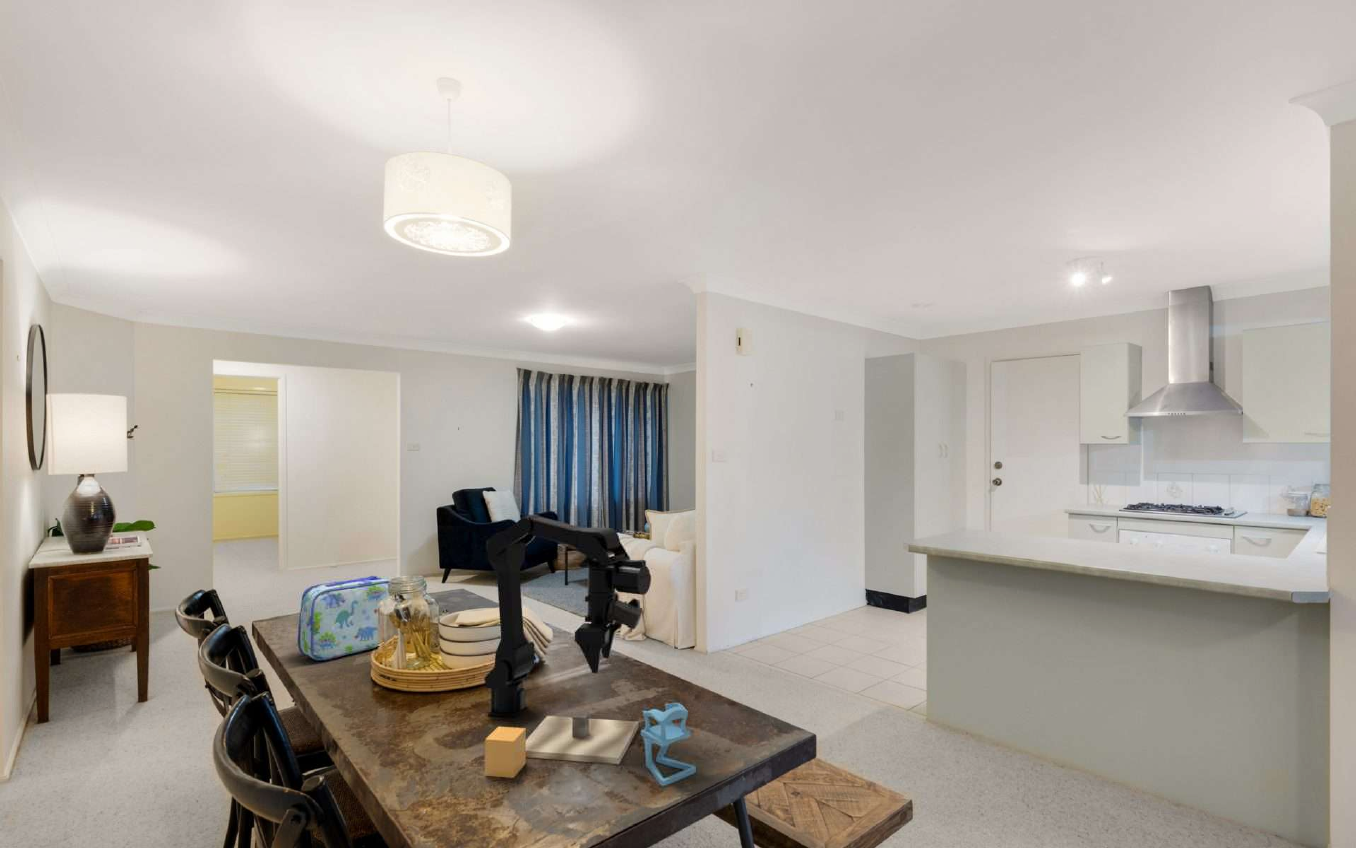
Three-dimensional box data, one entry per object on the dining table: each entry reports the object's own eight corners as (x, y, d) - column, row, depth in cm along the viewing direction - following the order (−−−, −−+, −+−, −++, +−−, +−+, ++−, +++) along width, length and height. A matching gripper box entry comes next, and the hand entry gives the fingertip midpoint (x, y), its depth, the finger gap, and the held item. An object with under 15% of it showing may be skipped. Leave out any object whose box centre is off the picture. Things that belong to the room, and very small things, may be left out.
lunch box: (385, 637, 203) (385, 569, 204) (402, 643, 197) (403, 573, 197) (294, 659, 183) (295, 583, 184) (310, 666, 176) (311, 588, 177)
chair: (668, 756, 124) (667, 692, 124) (696, 772, 117) (695, 704, 118) (635, 769, 119) (634, 702, 119) (663, 787, 112) (662, 716, 113)
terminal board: (517, 756, 124) (517, 728, 124) (547, 721, 140) (547, 697, 140) (619, 764, 121) (618, 735, 121) (638, 727, 136) (638, 702, 137)
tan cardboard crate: (485, 775, 117) (485, 739, 117) (498, 761, 122) (498, 726, 122) (513, 778, 116) (513, 741, 116) (525, 763, 121) (525, 728, 121)
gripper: (629, 602, 126) (629, 683, 125) (647, 581, 144) (647, 653, 144) (574, 599, 127) (573, 680, 127) (598, 580, 146) (598, 650, 145)
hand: (600, 665), depth 136 cm, fingers open, 9 cm apart
